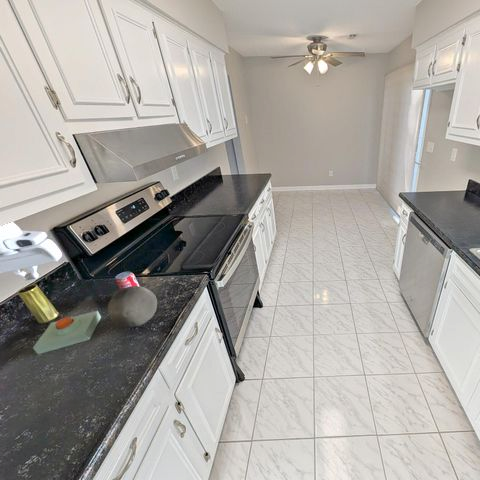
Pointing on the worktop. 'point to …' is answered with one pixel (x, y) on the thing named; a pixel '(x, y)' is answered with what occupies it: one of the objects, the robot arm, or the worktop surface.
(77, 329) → the green push-button pad
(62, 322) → the button
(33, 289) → the vase
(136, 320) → the cantaloupe
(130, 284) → the soda can
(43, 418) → the worktop surface
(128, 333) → the worktop surface
